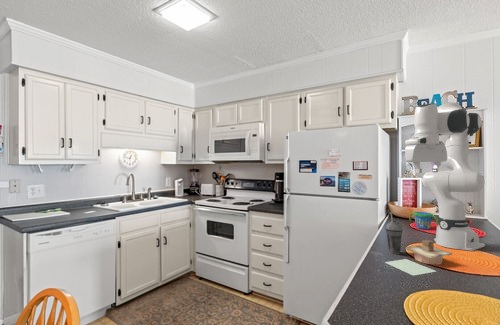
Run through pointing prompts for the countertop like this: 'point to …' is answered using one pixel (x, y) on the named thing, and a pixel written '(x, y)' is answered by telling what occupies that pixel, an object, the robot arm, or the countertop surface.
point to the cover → (428, 250)
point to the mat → (410, 267)
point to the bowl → (428, 259)
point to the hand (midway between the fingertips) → (427, 172)
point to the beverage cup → (394, 236)
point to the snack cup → (423, 219)
